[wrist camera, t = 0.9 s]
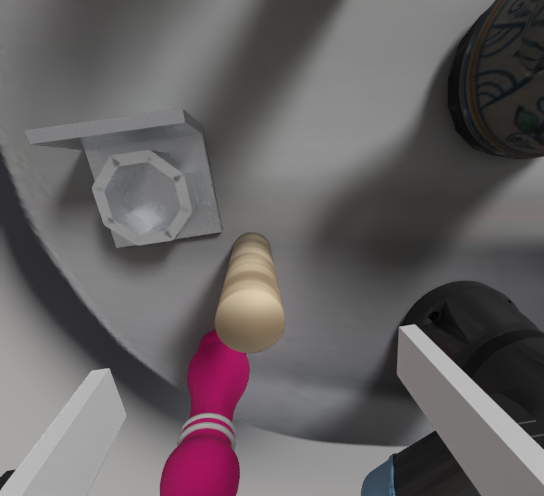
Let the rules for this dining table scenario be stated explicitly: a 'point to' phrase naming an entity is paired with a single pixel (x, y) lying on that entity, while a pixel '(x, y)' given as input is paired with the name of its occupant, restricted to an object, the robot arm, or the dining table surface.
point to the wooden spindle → (250, 298)
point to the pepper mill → (208, 424)
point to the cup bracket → (145, 174)
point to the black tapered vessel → (501, 81)
